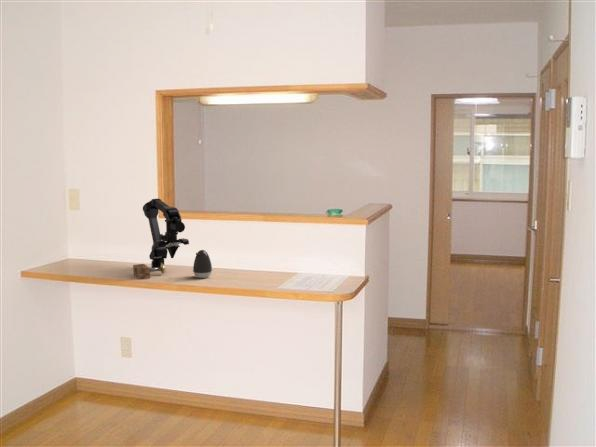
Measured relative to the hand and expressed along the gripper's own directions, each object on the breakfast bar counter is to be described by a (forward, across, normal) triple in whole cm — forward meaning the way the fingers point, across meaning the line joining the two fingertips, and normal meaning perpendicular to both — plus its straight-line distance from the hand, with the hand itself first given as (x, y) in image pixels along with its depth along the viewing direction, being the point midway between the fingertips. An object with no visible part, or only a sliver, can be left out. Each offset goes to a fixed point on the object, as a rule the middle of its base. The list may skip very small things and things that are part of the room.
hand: (172, 258), depth 343 cm
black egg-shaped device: (+9, -8, +19) cm, 23 cm away
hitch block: (+9, +17, -3) cm, 20 cm away
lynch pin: (+8, +10, -2) cm, 13 cm away
